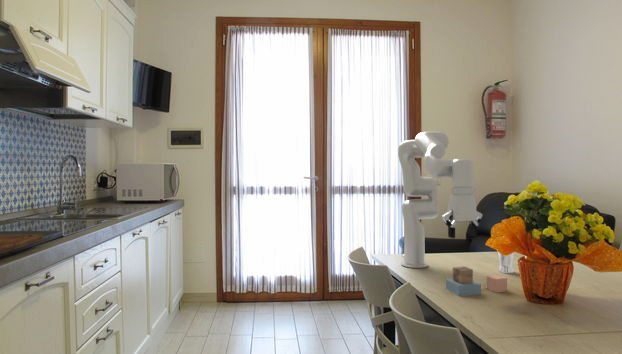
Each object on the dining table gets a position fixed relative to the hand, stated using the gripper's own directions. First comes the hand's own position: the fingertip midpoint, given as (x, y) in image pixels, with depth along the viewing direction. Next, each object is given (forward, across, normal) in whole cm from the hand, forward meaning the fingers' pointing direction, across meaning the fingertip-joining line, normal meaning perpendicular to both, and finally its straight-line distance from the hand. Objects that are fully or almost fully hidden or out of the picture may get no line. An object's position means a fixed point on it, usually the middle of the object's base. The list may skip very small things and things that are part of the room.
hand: (462, 236), depth 151 cm
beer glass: (+21, -36, -16) cm, 45 cm away
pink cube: (+20, -13, +4) cm, 24 cm away
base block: (+21, 0, +1) cm, 21 cm away
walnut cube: (+17, +1, +1) cm, 17 cm away
